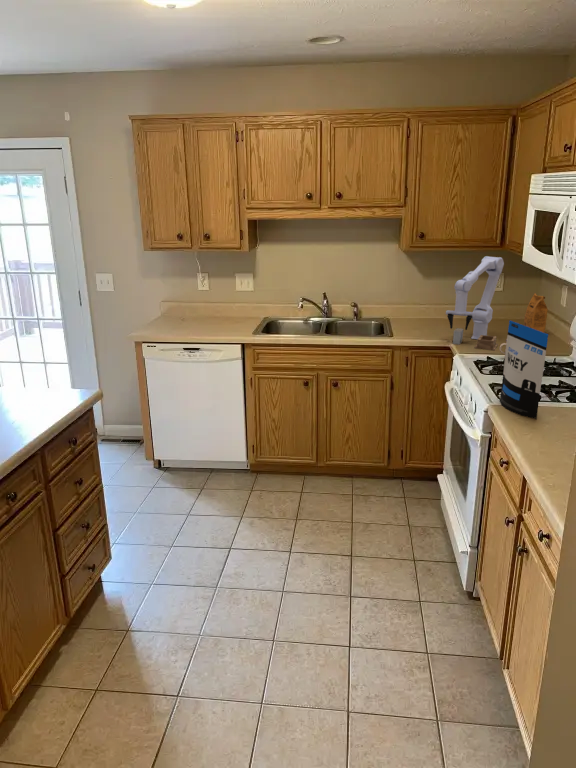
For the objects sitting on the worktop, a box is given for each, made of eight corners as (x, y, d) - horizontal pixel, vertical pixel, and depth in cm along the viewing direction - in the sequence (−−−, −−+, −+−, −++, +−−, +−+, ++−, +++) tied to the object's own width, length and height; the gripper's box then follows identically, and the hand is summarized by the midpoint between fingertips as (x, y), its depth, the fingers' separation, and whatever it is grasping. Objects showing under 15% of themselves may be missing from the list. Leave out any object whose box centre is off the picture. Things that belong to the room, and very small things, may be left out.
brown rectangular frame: (478, 342, 307) (478, 334, 306) (497, 344, 303) (498, 336, 301) (474, 348, 296) (475, 339, 294) (494, 350, 292) (495, 341, 290)
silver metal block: (455, 340, 312) (456, 328, 310) (462, 341, 310) (463, 328, 308) (452, 344, 305) (453, 331, 303) (459, 344, 303) (460, 331, 301)
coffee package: (537, 330, 337) (542, 292, 330) (546, 335, 325) (552, 296, 318) (520, 330, 337) (525, 292, 330) (528, 335, 325) (534, 296, 318)
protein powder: (511, 396, 222) (521, 319, 213) (548, 418, 200) (561, 333, 191) (488, 397, 221) (497, 320, 212) (523, 420, 198) (535, 334, 189)
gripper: (445, 303, 301) (443, 329, 305) (474, 305, 295) (471, 331, 299) (448, 301, 307) (445, 326, 311) (476, 303, 301) (473, 329, 305)
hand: (458, 328), depth 305 cm, fingers open, 7 cm apart
